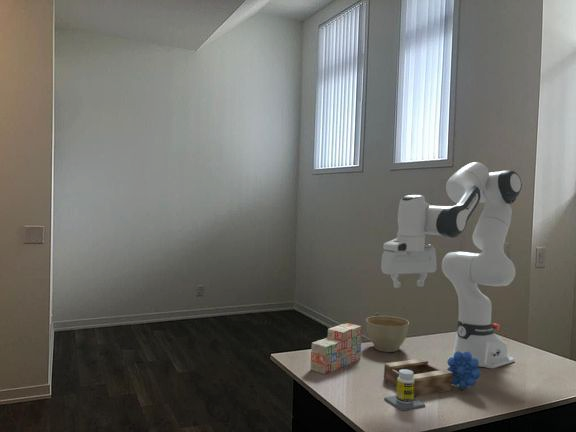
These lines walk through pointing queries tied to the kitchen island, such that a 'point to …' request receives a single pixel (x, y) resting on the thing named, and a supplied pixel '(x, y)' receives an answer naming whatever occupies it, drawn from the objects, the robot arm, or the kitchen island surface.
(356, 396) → the kitchen island surface
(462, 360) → the grapes
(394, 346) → the planter bowl
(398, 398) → the supplement bottle
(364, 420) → the kitchen island surface
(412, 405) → the slate pad
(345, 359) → the stack of blocks
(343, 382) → the kitchen island surface
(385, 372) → the crate
